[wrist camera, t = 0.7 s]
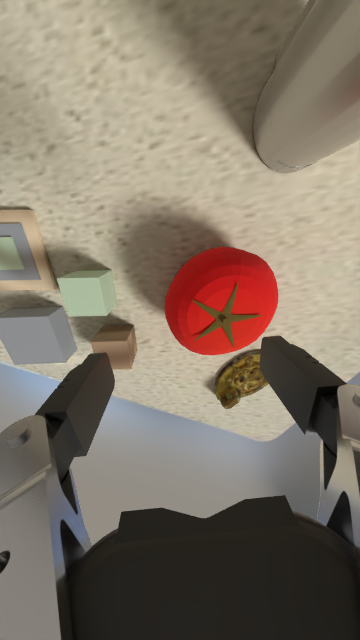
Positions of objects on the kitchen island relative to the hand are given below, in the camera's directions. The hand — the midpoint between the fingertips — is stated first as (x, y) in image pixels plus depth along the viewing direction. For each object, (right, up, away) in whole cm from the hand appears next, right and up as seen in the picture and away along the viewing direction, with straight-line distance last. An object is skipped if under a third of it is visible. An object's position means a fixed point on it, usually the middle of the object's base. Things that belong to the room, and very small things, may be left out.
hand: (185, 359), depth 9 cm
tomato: (+4, +6, +18) cm, 20 cm away
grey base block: (-22, +1, +21) cm, 30 cm away
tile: (-24, +11, +15) cm, 30 cm away
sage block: (-13, +7, +18) cm, 23 cm away
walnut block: (-10, -1, +22) cm, 24 cm away
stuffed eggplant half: (+13, -8, +26) cm, 30 cm away
